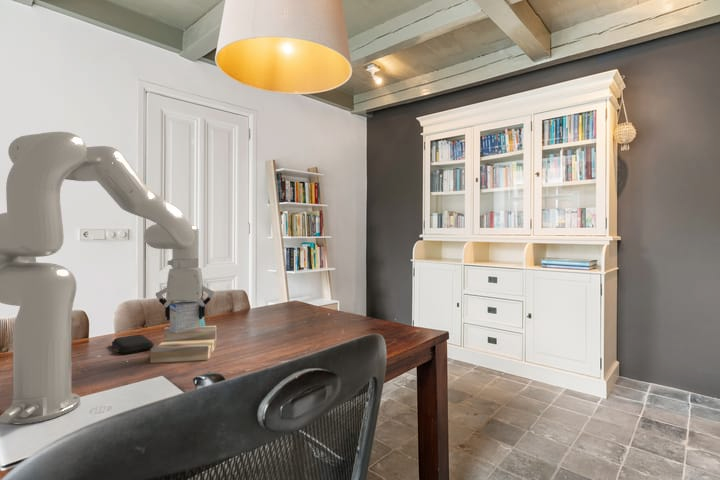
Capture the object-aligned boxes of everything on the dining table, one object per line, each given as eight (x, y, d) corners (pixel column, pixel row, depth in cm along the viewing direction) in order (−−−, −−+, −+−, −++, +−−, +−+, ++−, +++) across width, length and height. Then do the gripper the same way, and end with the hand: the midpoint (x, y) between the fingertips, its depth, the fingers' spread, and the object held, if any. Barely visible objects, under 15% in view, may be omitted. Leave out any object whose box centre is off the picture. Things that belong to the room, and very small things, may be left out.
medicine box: (193, 326, 123) (193, 299, 123) (200, 328, 120) (200, 301, 120) (169, 330, 116) (169, 303, 116) (176, 333, 114) (176, 304, 114)
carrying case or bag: (107, 347, 126) (117, 357, 115) (107, 338, 126) (117, 348, 115) (142, 341, 133) (155, 350, 123) (142, 332, 133) (155, 341, 123)
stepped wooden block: (207, 359, 113) (208, 336, 113) (150, 362, 110) (150, 339, 110) (216, 346, 127) (216, 325, 127) (165, 348, 124) (165, 327, 124)
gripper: (151, 265, 113) (151, 322, 113) (212, 265, 116) (212, 320, 116) (159, 263, 120) (159, 317, 120) (216, 263, 123) (216, 315, 124)
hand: (185, 318), depth 118 cm, fingers closed on medicine box, 8 cm apart
